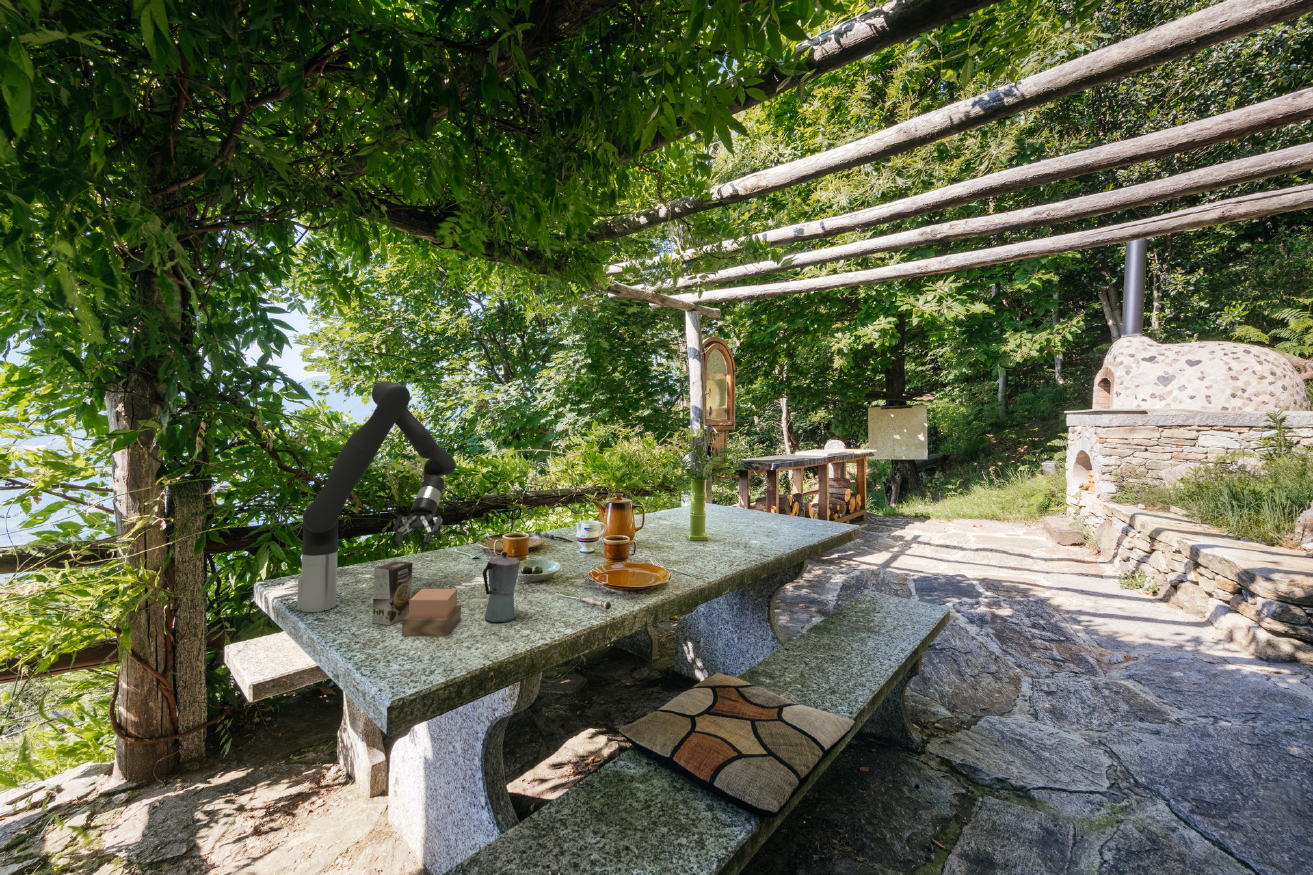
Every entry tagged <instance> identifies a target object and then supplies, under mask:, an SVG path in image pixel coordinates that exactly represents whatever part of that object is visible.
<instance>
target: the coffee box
mask: <svg viewBox="0 0 1313 875" xmlns="http://www.w3.org/2000/svg"><path fill="white" fill-rule="evenodd" d="M373 572H374V574H373V576H374V577H373V592H372V594H373V595H372V597H373V598H372V599H373V600H372V618H371V619H372V620H371V623H372V624H377V625H379V624H380V625H385V626H392V625H394V624H396V623H398V622H400V621H402V619H403V618H404V617H405V616H407V615H408V614H409V600H410V599H411V598H412V594H413V593H412V590H413V589H412V587H413V562H410V561H409V562H408V561H392V562H389V563H386V564H383V565H380V566H377V567H374V570H373Z"/></svg>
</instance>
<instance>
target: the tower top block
mask: <svg viewBox="0 0 1313 875" xmlns="http://www.w3.org/2000/svg"><path fill="white" fill-rule="evenodd" d="M457 600H458V588H421V589H420V590H419V591H418V592H416V594H414V595H413V597H412V596H411V599H410V600H409V618H447V617H448V616H449V614H450V613H451V612H452V611H453V610H454V608H455V607H456V606H457V605H458V604H457V603H458V601H457Z"/></svg>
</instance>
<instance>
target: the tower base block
mask: <svg viewBox="0 0 1313 875" xmlns="http://www.w3.org/2000/svg"><path fill="white" fill-rule="evenodd" d="M461 616H462V605H460V604H457V606H456V607H455V608H454V610H453V611H452V612H451V613H450V614H449V616H448V617H447V618H409V614H408V615H407V616H405V617H404V618H403V619H402V620H401V636H402V637H448V635H449V634H450V633H451V632H452V631H453V630H454V629H455V627H456V626H457V625H458V624H459V623H460V622H461V620H462V618H461ZM459 621H460V622H459ZM451 630H452V631H451Z"/></svg>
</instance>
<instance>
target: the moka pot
mask: <svg viewBox="0 0 1313 875" xmlns="http://www.w3.org/2000/svg"><path fill="white" fill-rule="evenodd" d="M501 554H502V557H497V558H491V559H490V560H488V561H487V563H486V567H485V568H484V569H483V571H482V577H483V583H484V589H485V594H486V595H489V596H488V601H487V605H486V610H485V615H484V619H485V620H486V621H488V622H491V623H504V622H509V621H512V620H514V619H515V616H516V615H515V614H516V613H515V597H514V592H515V587H516V585H517V581H518V575H519V570H520V565H521V560H519V558H516V557H508V552H506V551H503V552H502V553H501ZM487 573H488V575H487Z"/></svg>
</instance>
